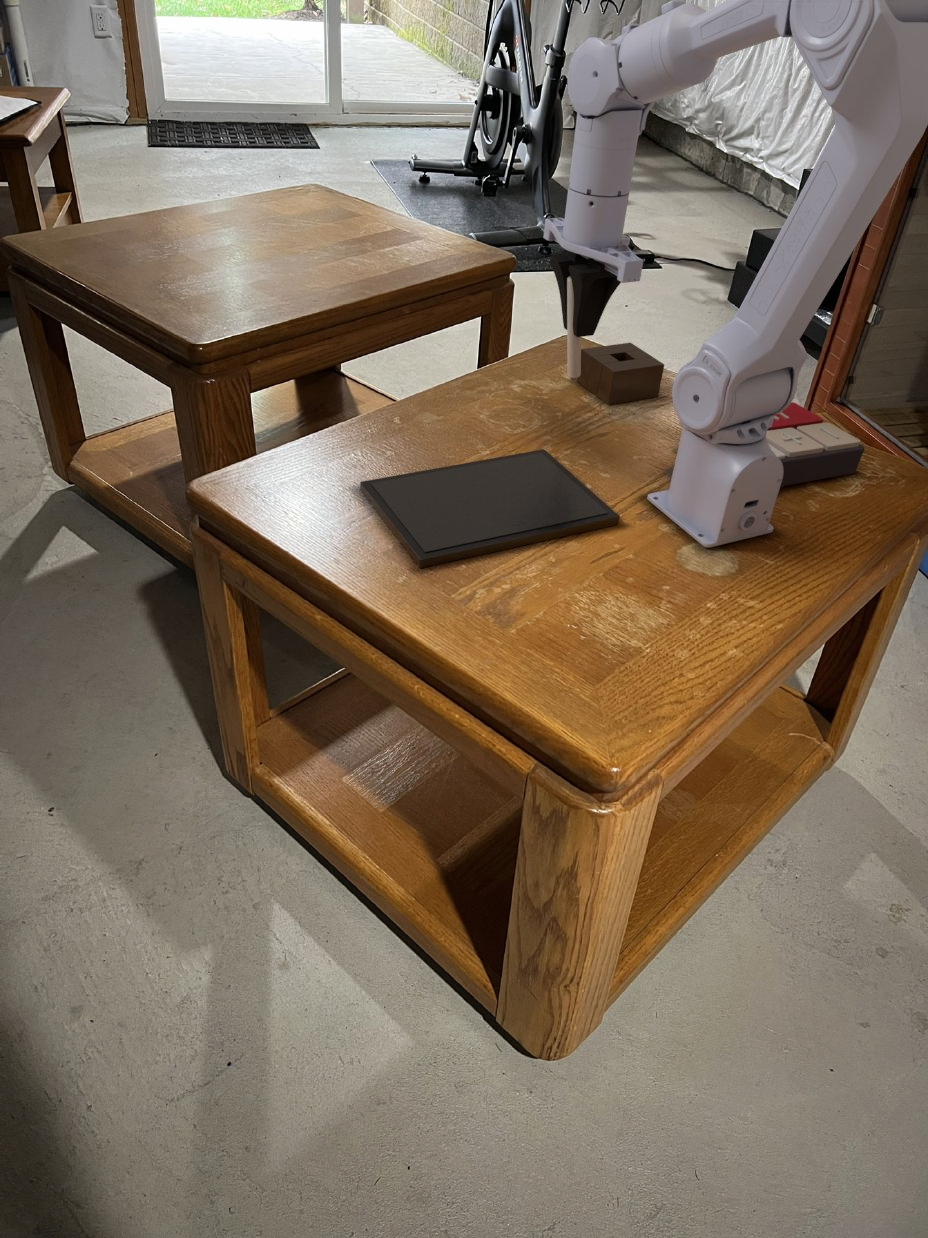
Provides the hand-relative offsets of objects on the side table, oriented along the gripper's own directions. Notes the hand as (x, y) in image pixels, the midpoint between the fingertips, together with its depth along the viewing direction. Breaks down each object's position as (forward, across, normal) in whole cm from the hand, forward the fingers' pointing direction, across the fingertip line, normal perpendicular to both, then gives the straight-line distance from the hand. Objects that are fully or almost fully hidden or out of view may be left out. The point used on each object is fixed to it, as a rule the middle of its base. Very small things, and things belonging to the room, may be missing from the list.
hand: (578, 331), depth 96 cm
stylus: (+5, 0, 0) cm, 5 cm away
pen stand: (+10, +6, -11) cm, 16 cm away
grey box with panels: (+11, -15, -16) cm, 24 cm away
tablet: (+10, -12, +16) cm, 23 cm away
